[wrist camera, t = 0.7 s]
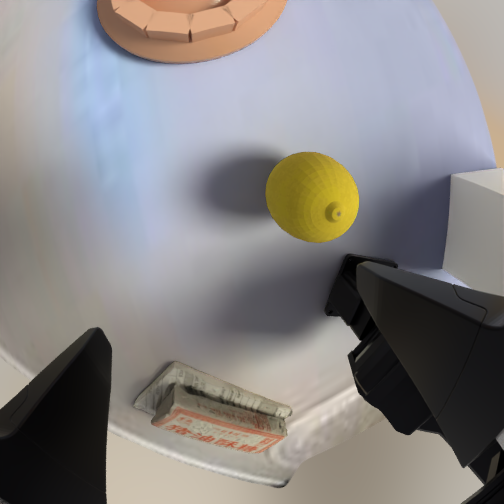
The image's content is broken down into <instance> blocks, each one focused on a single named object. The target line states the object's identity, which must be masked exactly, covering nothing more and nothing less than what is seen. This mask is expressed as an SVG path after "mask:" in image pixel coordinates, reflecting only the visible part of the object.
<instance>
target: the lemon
mask: <svg viewBox="0 0 504 504" xmlns="http://www.w3.org/2000/svg"><path fill="white" fill-rule="evenodd" d="M265 196H266V202H267V207H268V209H269V211H270V213H271V216H272V218H273V219H274V220H275V222H276V223H277V224H278V225H279V226H280V227H281V228H282V229H283V230H284V231H286V232H287V233H289V234H290V235H292V236H293V237H295V238H298V239H301V240H304V241H306V242H315V243H322V242H327V241H331V240H333V239H335V238H337V237H339V236H341V235H342V234H343V233H345V232H346V231H347V230H348V229H349V227H350V226H351V225H352V223H353V222H354V220H355V218H356V215H357V212H358V209H359V195H358V189H357V186H356V184H355V182H354V180H353V177H352V176H351V175H350V174H349V172H348V171H347V170H346V169H345V168H344V167H343V166H342V165H341V164H340V163H338V162H337V161H335V160H334V159H333V158H331V157H329V156H326V155H323V154H320V153H316V152H301V153H296V154H292V155H290V156H288V157H286V158H284V159H283V160H281V161H280V162H279V163H278V164H277V165H276V166H275V167H274V169H273V170H272V172H271V173H270V175H269V178H268V181H267V183H266V192H265Z"/></svg>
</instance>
